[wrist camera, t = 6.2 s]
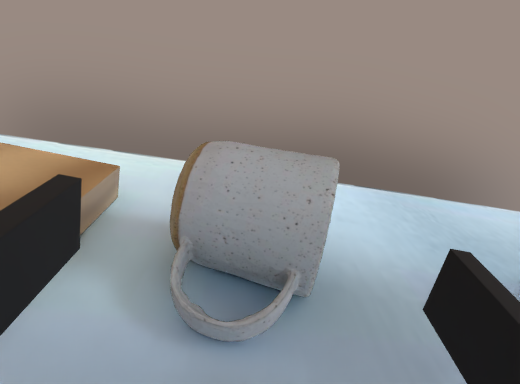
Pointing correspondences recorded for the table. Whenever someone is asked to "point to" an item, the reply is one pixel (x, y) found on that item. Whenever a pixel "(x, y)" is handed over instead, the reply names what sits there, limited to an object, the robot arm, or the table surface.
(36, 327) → the table surface
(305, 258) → the ceramic mug
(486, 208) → the table surface
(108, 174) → the board
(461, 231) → the table surface
